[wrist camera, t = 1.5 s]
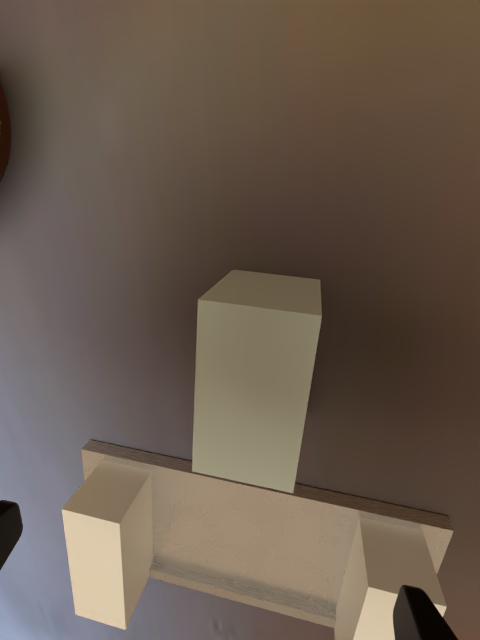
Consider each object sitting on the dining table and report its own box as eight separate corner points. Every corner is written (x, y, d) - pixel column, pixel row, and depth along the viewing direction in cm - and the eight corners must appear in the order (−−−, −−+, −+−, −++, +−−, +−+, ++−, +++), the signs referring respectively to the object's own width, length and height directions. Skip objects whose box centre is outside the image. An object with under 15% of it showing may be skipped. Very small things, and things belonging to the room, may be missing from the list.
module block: (320, 279, 18) (322, 315, 12) (299, 413, 20) (293, 493, 15) (233, 269, 18) (197, 299, 13) (224, 399, 21) (191, 471, 16)
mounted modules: (422, 531, 20) (446, 606, 16) (388, 631, 23) (402, 714, 19) (102, 459, 23) (61, 509, 20) (109, 556, 26) (75, 614, 23)
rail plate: (447, 515, 20) (457, 540, 19) (406, 625, 24) (412, 653, 22) (90, 439, 24) (75, 455, 23) (99, 543, 28) (87, 563, 26)
